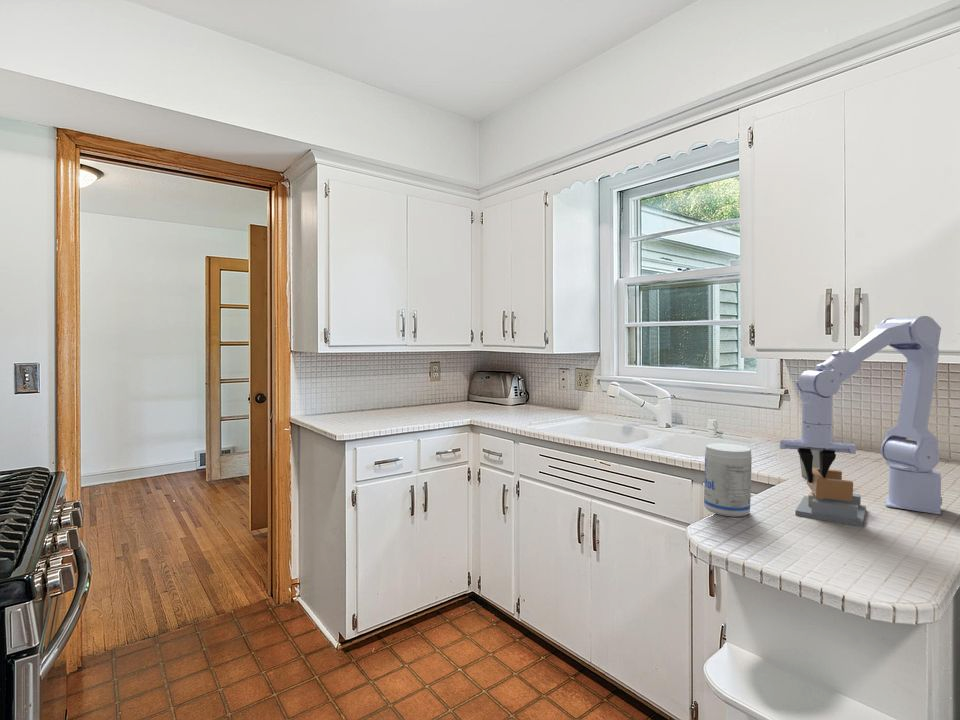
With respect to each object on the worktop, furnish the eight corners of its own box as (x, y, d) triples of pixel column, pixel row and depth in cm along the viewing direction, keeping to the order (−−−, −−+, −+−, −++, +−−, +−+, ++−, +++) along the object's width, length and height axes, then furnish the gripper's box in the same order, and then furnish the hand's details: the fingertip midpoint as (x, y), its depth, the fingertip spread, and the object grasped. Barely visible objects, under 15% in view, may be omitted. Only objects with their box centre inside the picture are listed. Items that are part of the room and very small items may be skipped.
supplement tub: (696, 505, 122) (696, 443, 121) (734, 503, 123) (734, 442, 122) (719, 519, 112) (719, 451, 112) (760, 517, 113) (761, 450, 113)
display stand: (865, 510, 118) (866, 494, 118) (862, 526, 107) (862, 510, 107) (804, 500, 125) (804, 485, 125) (795, 514, 114) (795, 499, 114)
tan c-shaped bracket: (839, 487, 121) (840, 470, 121) (852, 501, 110) (853, 482, 110) (806, 483, 124) (807, 466, 124) (815, 496, 113) (816, 478, 113)
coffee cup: (832, 479, 145) (832, 444, 144) (813, 481, 142) (813, 445, 142) (809, 473, 151) (809, 439, 151) (791, 475, 149) (791, 441, 149)
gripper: (850, 422, 118) (849, 481, 119) (777, 418, 124) (777, 475, 124) (858, 427, 112) (857, 489, 112) (781, 423, 118) (780, 482, 118)
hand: (815, 482), depth 118 cm, fingers closed on tan c-shaped bracket, 2 cm apart
